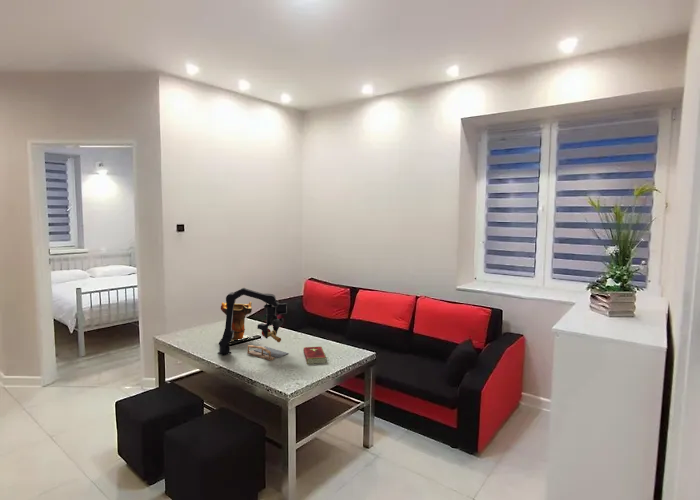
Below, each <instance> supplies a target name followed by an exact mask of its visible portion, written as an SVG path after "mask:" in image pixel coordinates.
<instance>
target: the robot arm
mask: <svg viewBox="0 0 700 500" xmlns="http://www.w3.org/2000/svg"><path fill="white" fill-rule="evenodd" d="M242 296H246V297H249V298H253V299H257V300H261V301H262V302H263V303H265V304H264V305H263V308H266V315H265V318H266V321H264V323H258V324H257V327H256V328H257V329H258V330H260V331H261V333H262V332H263V333H264V336H265V337H264V336H263V337H264V338H265V339H266V340H267V339H269V337H268V330H269V329H270V328H269V327H271V326H272V331H273V330H274V331H276V335H277V334H278V331H279V328H280V327H282V325H285V319H284V317H281V318H278V315H284V314H285V315H287V313H288V302H287V303H279V301H278V300H277V297H276V295H275V294H272V293H263V292H258V291H254V290H251V289H248V288H245V287H242V288H241V289H239V290H236V291H234V292H229V293H227V295H226V296H225V303H226V304H227V315H226V314H225V317H226V318H225V326H224V331H223V334H222V338H221V339H220V340H219V342H218V345H219V349H218V350H219V351H218V352H217V353H216V354H218V355H220V356H227V355H230V354H232V352H231V350H230V348H231V347H230V343H231V342H232V341H231V340H232V339H233V337H234V330H232V319H233V309H234V304H236V300H237V299H239V298H241V297H242ZM276 314H278V315H276ZM268 328H269V329H268ZM230 341H231V342H230Z"/></svg>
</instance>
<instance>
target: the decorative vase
mask: <svg viewBox="0 0 700 500" xmlns="http://www.w3.org/2000/svg"><path fill="white" fill-rule="evenodd" d="M220 311H221V312H222V313H224V314H225V316H226V315H227V304H226V302H224V301H223V302H221V306H220ZM252 311H253V307H252V301H249V303H235V304H234V309H233V319H232V330H234V337H233V339H232V340H231V342H235V341H234V340H238V339H242V338H247V337H249V336H250V335H247V334H245V330H246V329H245V320H246V316H247V315H249V314H251V313H252ZM249 338H250V337H249Z"/></svg>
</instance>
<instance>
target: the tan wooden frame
mask: <svg viewBox="0 0 700 500" xmlns="http://www.w3.org/2000/svg"><path fill="white" fill-rule="evenodd" d="M250 348H251V349H262V353H259V352H256V351H254V350H250ZM263 350H264V351H265V352H267V353H269V356H268V355H265V354H263ZM246 353H247V355H250V356H254V357H257V358H260V359H263V360H267V361H273V360H275V357H272V356H271V351H269V350H268V349H266V348H264V346H259V345H252V344H248V345H247V352H246Z"/></svg>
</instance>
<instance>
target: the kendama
mask: <svg viewBox="0 0 700 500" xmlns="http://www.w3.org/2000/svg"><path fill="white" fill-rule="evenodd" d="M268 329H269V330H268V338H270V337H271V338H273V340H275V341H276V342H277V343H280V342H281V341H282V337H279V336H277V334H276V331H274V330H273V329H272V330H271V329H270V328H269V327H268ZM261 335H262V337H263V338H265V336H264V333H263V332H262V331H261Z"/></svg>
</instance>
